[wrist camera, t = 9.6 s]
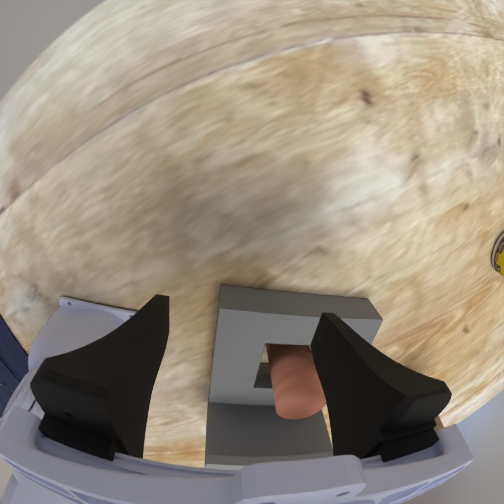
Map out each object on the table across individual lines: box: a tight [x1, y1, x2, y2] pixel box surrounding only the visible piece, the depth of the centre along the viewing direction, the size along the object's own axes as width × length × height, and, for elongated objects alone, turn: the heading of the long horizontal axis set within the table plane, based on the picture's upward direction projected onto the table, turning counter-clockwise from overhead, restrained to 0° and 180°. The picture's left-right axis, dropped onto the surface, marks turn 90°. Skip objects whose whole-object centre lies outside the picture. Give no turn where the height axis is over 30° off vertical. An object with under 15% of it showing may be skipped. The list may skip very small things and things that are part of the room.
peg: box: [266, 343, 326, 419], centre depth 23 cm, size 4×4×8 cm
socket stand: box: [205, 285, 383, 470], centre depth 22 cm, size 14×17×11 cm
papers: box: [0, 317, 29, 418], centre depth 28 cm, size 24×30×4 cm
